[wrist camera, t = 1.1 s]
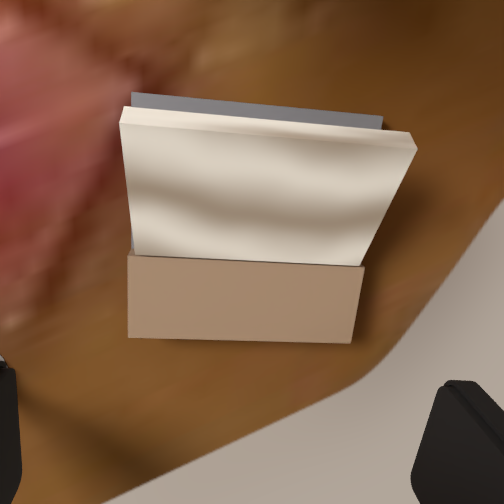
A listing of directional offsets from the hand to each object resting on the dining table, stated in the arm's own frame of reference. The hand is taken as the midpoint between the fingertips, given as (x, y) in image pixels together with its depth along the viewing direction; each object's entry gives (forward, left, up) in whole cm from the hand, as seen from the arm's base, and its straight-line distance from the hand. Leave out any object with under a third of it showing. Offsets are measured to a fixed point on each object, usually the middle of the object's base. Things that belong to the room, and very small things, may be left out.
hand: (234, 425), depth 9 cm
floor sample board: (+1, +2, -22) cm, 22 cm away
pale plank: (-2, +2, -18) cm, 18 cm away
